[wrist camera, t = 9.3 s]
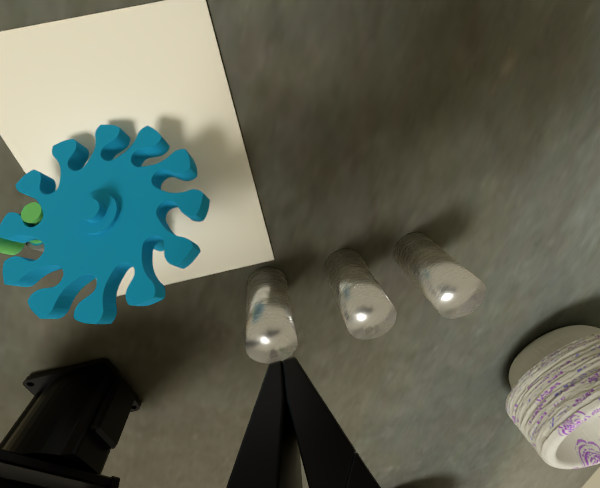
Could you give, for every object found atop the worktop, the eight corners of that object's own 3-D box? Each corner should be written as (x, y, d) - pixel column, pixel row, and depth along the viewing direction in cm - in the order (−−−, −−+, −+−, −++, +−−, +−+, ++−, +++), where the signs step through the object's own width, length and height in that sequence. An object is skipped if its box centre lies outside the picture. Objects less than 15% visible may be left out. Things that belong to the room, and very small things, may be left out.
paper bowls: (518, 412, 37) (579, 486, 30) (460, 370, 31) (520, 452, 24) (631, 342, 33) (733, 408, 26) (592, 277, 27) (711, 342, 20)
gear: (197, 101, 14) (196, 312, 11) (235, 166, 19) (240, 316, 17) (-15, 131, 14) (-67, 339, 12) (82, 186, 20) (62, 333, 17)
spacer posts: (253, 303, 22) (252, 368, 17) (113, -106, 11) (-5, -274, 6) (429, 261, 23) (481, 311, 17) (453, -165, 12) (608, -364, 7)
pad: (109, 297, 20) (108, 297, 20) (-59, 43, 13) (-61, 43, 13) (274, 259, 21) (274, 259, 20) (203, -6, 13) (203, -7, 13)
